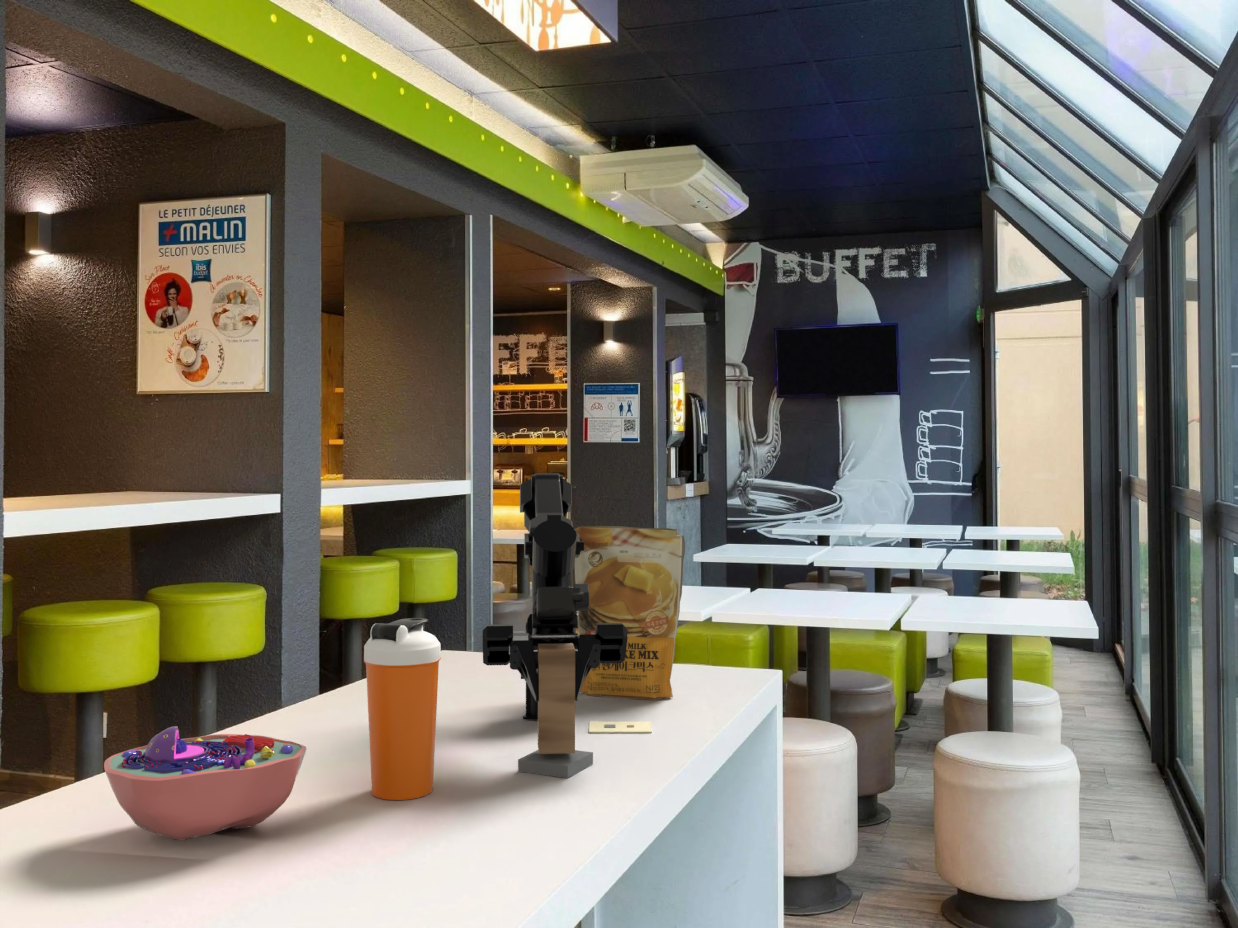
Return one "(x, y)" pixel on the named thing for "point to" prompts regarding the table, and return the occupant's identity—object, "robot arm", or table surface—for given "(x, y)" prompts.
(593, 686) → the pancake mix bag
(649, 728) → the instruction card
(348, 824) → the table surface
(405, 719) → the shaker bottle
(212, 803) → the cell model
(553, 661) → the pillar
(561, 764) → the base plate
